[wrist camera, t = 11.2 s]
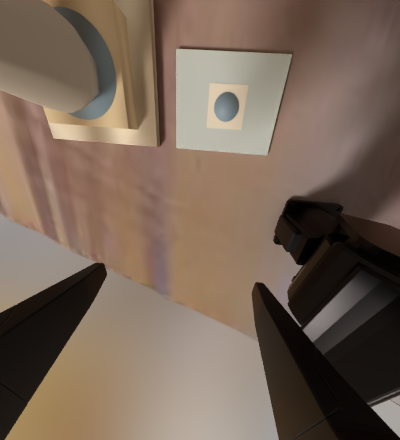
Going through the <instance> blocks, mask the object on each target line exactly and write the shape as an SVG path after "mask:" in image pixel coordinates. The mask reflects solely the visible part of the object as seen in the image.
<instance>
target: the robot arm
mask: <svg viewBox="0 0 400 440" xmlns="http://www.w3.org/2000/svg"><path fill="white" fill-rule="evenodd" d="M290 203H292V205H289V204H290ZM338 207H339V208H338ZM337 208H338V209H337ZM336 209H337V210H336ZM342 210H343V206H341V205H339V204H332V203H321V202H311V201H300V200H288V201H287V202H286V205H285V207H284V210H283V213H282V215H281V216H280V217H279V220H278V223H277V226H276V229H275V236H274V239H273V241H274V243H275V244H278V245H283V247H284V249H285V250H286V252H290V254H291V256H292V257H293V259H294V260H295V262H296V264H297V265H303V266H302V268H301V269H300V271H299V272H298V273H297V275H296V276H294V277H293V279H292V283H291V285H290V286H289V289H288V291H287V292H288V299H289V302H288V306H289V308H290V310H291V312H292V314H293V315H294V317H295V318H296V320H297V321H298V322H299V324H300V325H301V327H299V325H298V324H297V323H296V322H295V321H294V319H293V318H292V317H291V316H290V315H289V313H288V312H287V311H286V310H285V309H284V307H283V306H282V305H281V304H280V303H279V301H278V300H277V299H276V298H275V297H274V295H273V294H272V293H271V292H270V291H269V289H268V288H267V287H266V286H265V285H264V284H263V283H259V282H256V283H255V285H254V288H253V291H252V301H253V311H254V320H255V327H256V332H257V337H258V342H259V346H260V351H261V356H262V360H263V365H264V370H265V375H266V380H267V385H268V390H269V394H270V399H271V404H272V408H273V413H274V418H275V423H276V427H277V432H278V437H279V440H400V438H399V437H398V436H397V435H396V434H395V432H393V431H392V429H390V428H389V426H388V425H387V424H386V423H385V422H384V421H383V420H382V419H381V418H380V417H379V416H378V415H377V414H376V412H375V411H374V410H373V409H372V408H371V407H373V406H375V405H377V404H380V403H382V402H385V401H387V400H391V401H393V402H394V403H396V404H397V405H399V406H400V230H399V229H397V228H395V227H392V226H390V225H387V224H382V223H378V222H374V221H370V220H366V219H361V218H357V217H353V216H349V215H345V214H341V212H342ZM277 240H279V241H277ZM106 276H107V272H106V268H105V265H104V264H103V263H94V264H93V265H91V266H89V267H87V268H85V269H83V270H81V271H79V272H78V273H75V274H74V275H72V276H70V277H68V278H66V279H64V280H62V281H60V282H58V283H57V284H55V285H53V286H51V287H49V288H47V289H45V290H43V291H41V292H39V293H38V294H36V295H34V296H32V297H30V298H28V299H26V300H24V301H22V302H20V303H18V304H17V305H15V306H13V307H11V308H9V309H7V310H5V311H3V312H1V313H0V440H5V438H6V437H7V435H8V434H9V432H10V430H11V429H12V427H13V426H14V424H15V423H16V421H17V420H18V418H19V416H20V415H21V413H22V412H23V410H24V409H25V407H26V406H27V404H28V402H29V401H30V399H31V397H32V396H33V394H34V393H35V391H36V390H37V388H38V387H39V385H40V384H41V382H42V381H43V379H44V377H45V376H46V374H47V373H48V371H49V369H50V368H51V367H52V365H53V363H54V362H55V360H56V359H57V357H58V356H59V354H60V353H61V351H62V349H63V348H64V346H65V345H66V343H67V341H68V340H69V339H70V337H71V335H72V334H73V332H74V331H75V329H76V328H77V326H78V325H79V323H80V321H81V320H82V318H83V317H84V315H85V314H86V312H87V311H88V309H89V308H90V306H91V304H92V303H93V301H94V299H95V297H96V296H97V294H98V292H99V290H100V288H101V286H102V284H103V282H104V280H105V278H106Z"/></svg>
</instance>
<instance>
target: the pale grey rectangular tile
mask: <svg viewBox="0 0 400 440" xmlns="http://www.w3.org/2000/svg"><path fill="white" fill-rule="evenodd" d="M291 58H292V54H275V53H254V52H233V51H213V50H192V49H176V148H183V149H195V150H207V151H220V152H232V153H244V154H256V155H267V154H268V150H269V146H270V142H271V138H272V134H273V130H274V126H275V122H276V118H277V114H278V110H279V106H280V102H281V98H282V94H283V90H284V86H285V82H286V78H287V74H288V70H289V66H290V62H291Z"/></svg>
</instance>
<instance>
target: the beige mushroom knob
mask: <svg viewBox="0 0 400 440" xmlns="http://www.w3.org/2000/svg"><path fill="white" fill-rule="evenodd" d="M0 90H1V91H4V92H7V93H9V94H12V95H15V96H17V97H20V98H23V99H25V100H28V101H30V102H33V103H36V104H38V105H41V106H44V107H46V108H49V109H52V110H56V111H61V112H65V113H74V112H76V111H79V110H81V109H83V108H85V107H86V106H87V105H88V104H89V103H90V102H91V101H92V100H93V99H94V98H96V97H97V96H98V95H99V94H100V86H99V75H98V66H97V64H96V62H95V60H94V59H93V57H92V55H91V54H90V52H89V50H88V49H87V47H86V45H85V44H84V42H83V41H82V39H81V37H80V36H79V34H78V33H77V31H76V30H75V28H74V27H73V26H72V25H71V24H70V23H69V21H67V20H66V19H65V18H64V17H63V16H62V15H60V14H59V13H58V12H57V11H56V10H55V9H54V8H52V7H51V6H50V5H49V4H48V3H46V2H44V1H42V0H0Z"/></svg>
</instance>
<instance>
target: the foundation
mask: <svg viewBox="0 0 400 440" xmlns="http://www.w3.org/2000/svg"><path fill="white" fill-rule="evenodd" d="M42 1H44V2H46V3H48V4H49V5H50V6H51V7H52V8H54V9H55V10H56V11H57V12H58V13H59V14H60V15H62V16H63V17H64V18H65V19H66V20H67V21H69V23H70V24H71V25H72V26H73V27H74V28H75V30H76V31H77V33H78V34H79V36H80V37H81V39H82V41H83V42H84V44H85V45H86V47H87V49H88V50H89V52H90V54H91V55H92V57H93V59H94V60H95V62H96V64H97V66H98V75H99V86H100V94H99V95H98V96H97V97H96V98H94V99H93V100H92V101H91V102H90V103H89V104H88V105H87V106H86V107H85V108H83V109H81V110H79V111H76V112H74V113H65V112H61V111H56V110H52V109H49V108H46V107H44V106H43V107H44V110H45V114H46V117H47V120H48V123H49V126H50V129H51V132H52V135H53V138H55V139H67V140H80V141H92V142H104V143H116V144H128V145H141V146H153V147H159V146H160V134H159V113H158V91H157V70H156V49H155V27H154V6H153V0H42Z"/></svg>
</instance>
